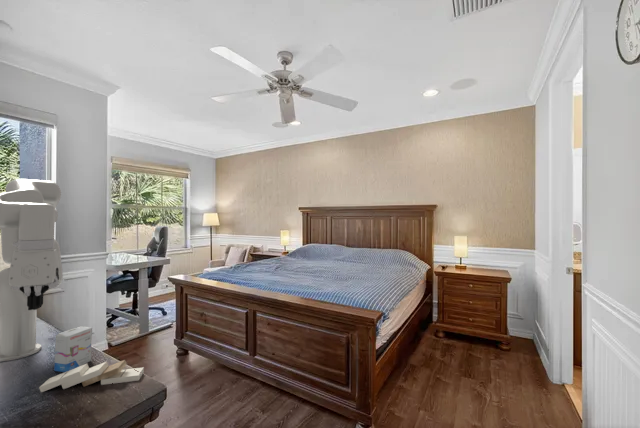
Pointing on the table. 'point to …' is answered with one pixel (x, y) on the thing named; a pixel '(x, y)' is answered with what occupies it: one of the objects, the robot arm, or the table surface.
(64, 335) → the ink box
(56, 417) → the table surface
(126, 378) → the domino
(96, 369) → the domino
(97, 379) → the domino
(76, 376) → the domino
